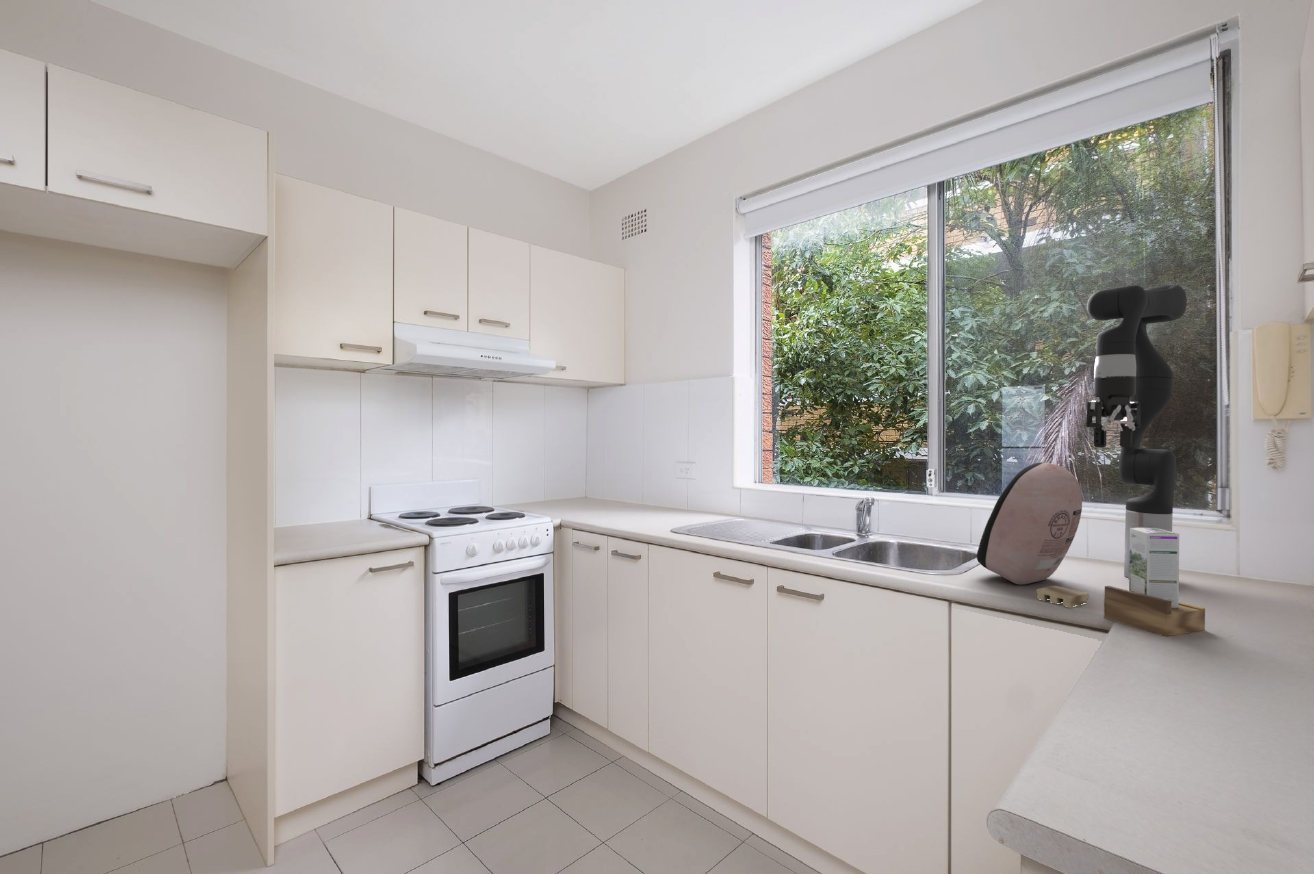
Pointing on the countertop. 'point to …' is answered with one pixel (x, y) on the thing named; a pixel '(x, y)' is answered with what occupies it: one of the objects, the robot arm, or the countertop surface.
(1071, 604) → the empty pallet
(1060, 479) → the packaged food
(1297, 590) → the countertop surface
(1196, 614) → the dock
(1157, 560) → the syrup box
